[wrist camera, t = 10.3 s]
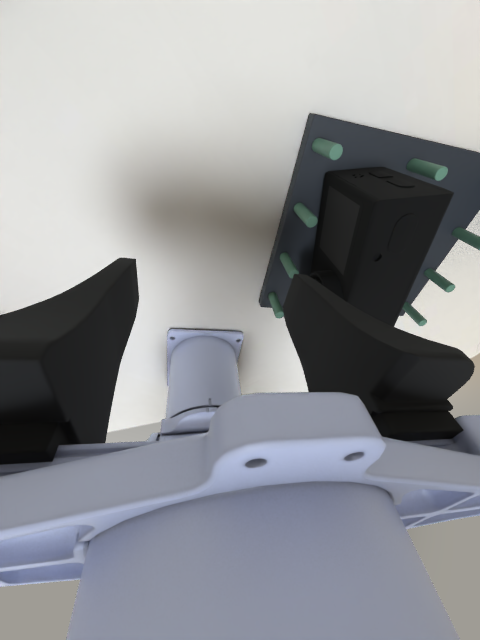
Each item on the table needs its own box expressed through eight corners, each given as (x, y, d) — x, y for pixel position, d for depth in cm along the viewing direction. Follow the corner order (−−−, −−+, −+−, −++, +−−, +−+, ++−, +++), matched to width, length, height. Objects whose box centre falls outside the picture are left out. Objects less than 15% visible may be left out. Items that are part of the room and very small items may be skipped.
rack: (397, 310, 30) (420, 334, 27) (258, 301, 26) (266, 327, 23) (503, 158, 20) (557, 169, 17) (308, 113, 17) (333, 116, 14)
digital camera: (308, 170, 18) (354, 200, 13) (383, 164, 18) (458, 191, 13) (294, 293, 25) (321, 346, 20) (349, 287, 25) (390, 337, 20)
